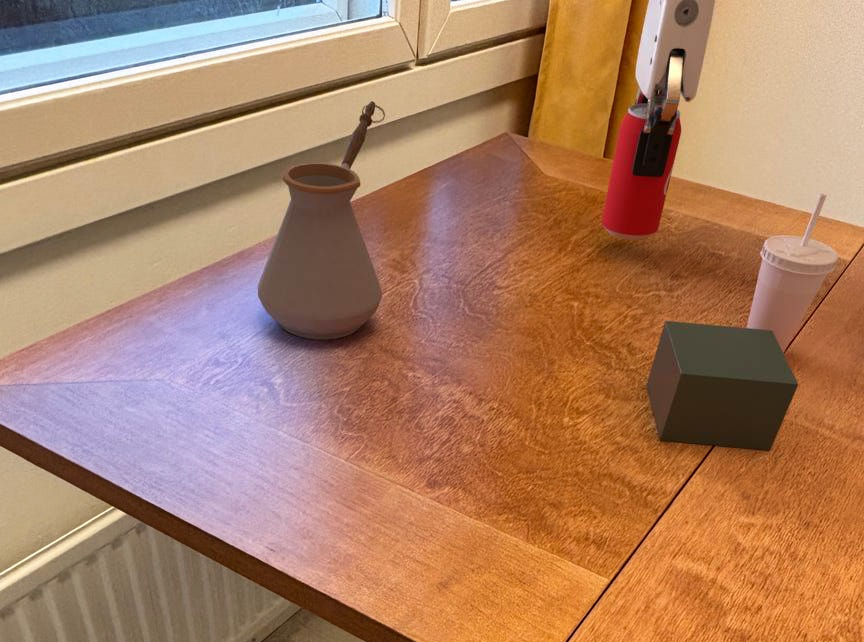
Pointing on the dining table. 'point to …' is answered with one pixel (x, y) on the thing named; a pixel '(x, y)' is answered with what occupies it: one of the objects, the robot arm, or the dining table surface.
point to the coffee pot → (322, 251)
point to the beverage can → (636, 182)
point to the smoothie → (790, 280)
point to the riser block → (719, 385)
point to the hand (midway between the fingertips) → (643, 163)
